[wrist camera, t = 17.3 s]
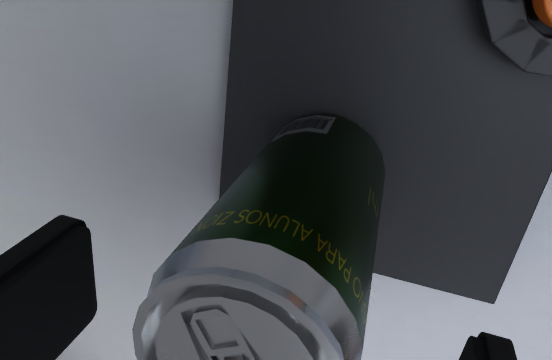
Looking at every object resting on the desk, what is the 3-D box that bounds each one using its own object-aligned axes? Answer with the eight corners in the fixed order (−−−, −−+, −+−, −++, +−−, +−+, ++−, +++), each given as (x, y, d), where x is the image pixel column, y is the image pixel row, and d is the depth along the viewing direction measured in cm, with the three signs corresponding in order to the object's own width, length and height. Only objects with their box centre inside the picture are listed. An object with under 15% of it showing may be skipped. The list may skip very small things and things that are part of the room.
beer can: (250, 131, 20) (82, 290, 10) (361, 90, 18) (296, 236, 8) (295, 229, 22) (189, 458, 11) (402, 202, 20) (394, 451, 9)
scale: (254, -131, 18) (227, -150, 15) (674, -91, 15) (732, -107, 12) (225, 219, 25) (203, 248, 22) (505, 290, 22) (518, 333, 19)
